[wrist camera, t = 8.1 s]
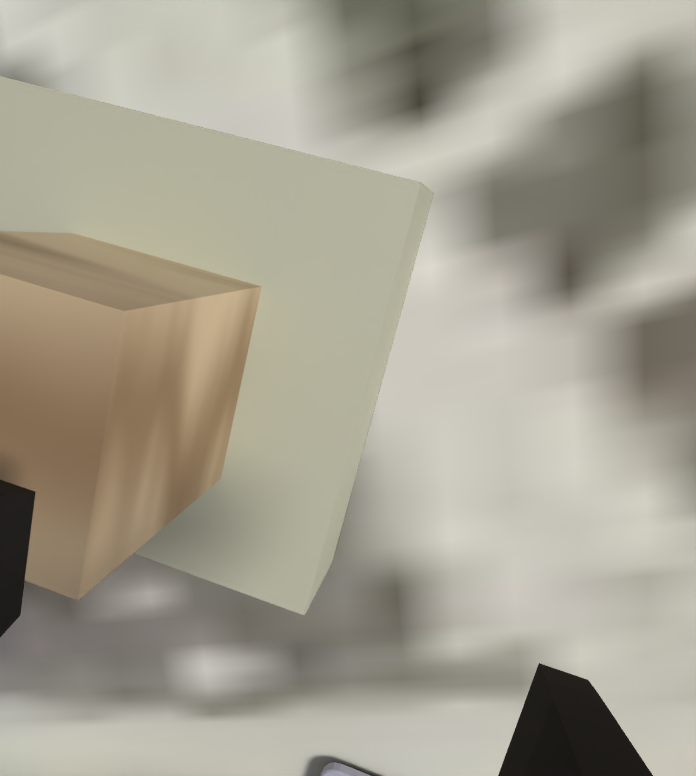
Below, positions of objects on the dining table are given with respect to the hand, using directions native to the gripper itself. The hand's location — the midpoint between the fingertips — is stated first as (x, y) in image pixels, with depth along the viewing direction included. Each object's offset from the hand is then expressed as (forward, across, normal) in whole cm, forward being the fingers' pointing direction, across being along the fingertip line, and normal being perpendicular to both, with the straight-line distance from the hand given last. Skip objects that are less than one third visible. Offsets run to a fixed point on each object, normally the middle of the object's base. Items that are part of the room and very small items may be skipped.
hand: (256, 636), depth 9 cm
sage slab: (+10, +6, -1) cm, 12 cm away
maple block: (+7, +6, -1) cm, 9 cm away
